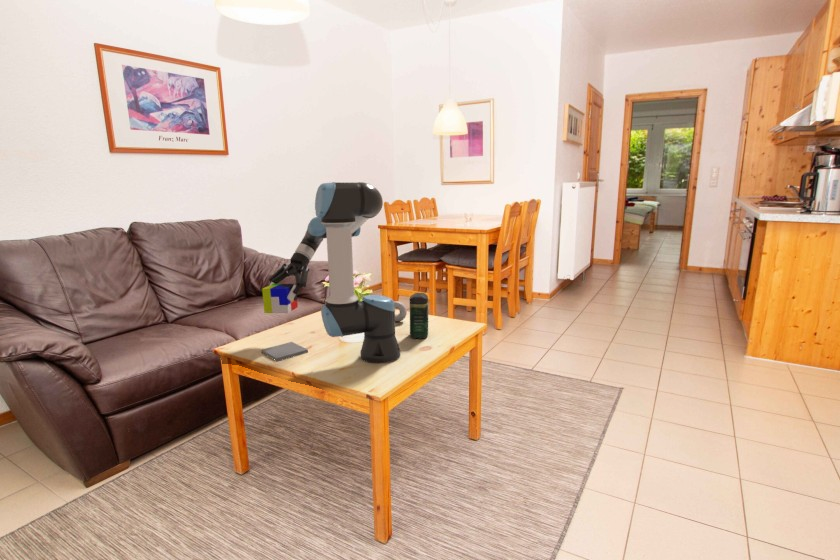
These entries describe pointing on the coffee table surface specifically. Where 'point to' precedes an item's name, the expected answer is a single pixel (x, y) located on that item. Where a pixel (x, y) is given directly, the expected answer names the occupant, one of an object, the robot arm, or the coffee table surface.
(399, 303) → the donut
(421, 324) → the coffee jar
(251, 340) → the coffee table surface
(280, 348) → the slate board
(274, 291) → the puzzle toy
